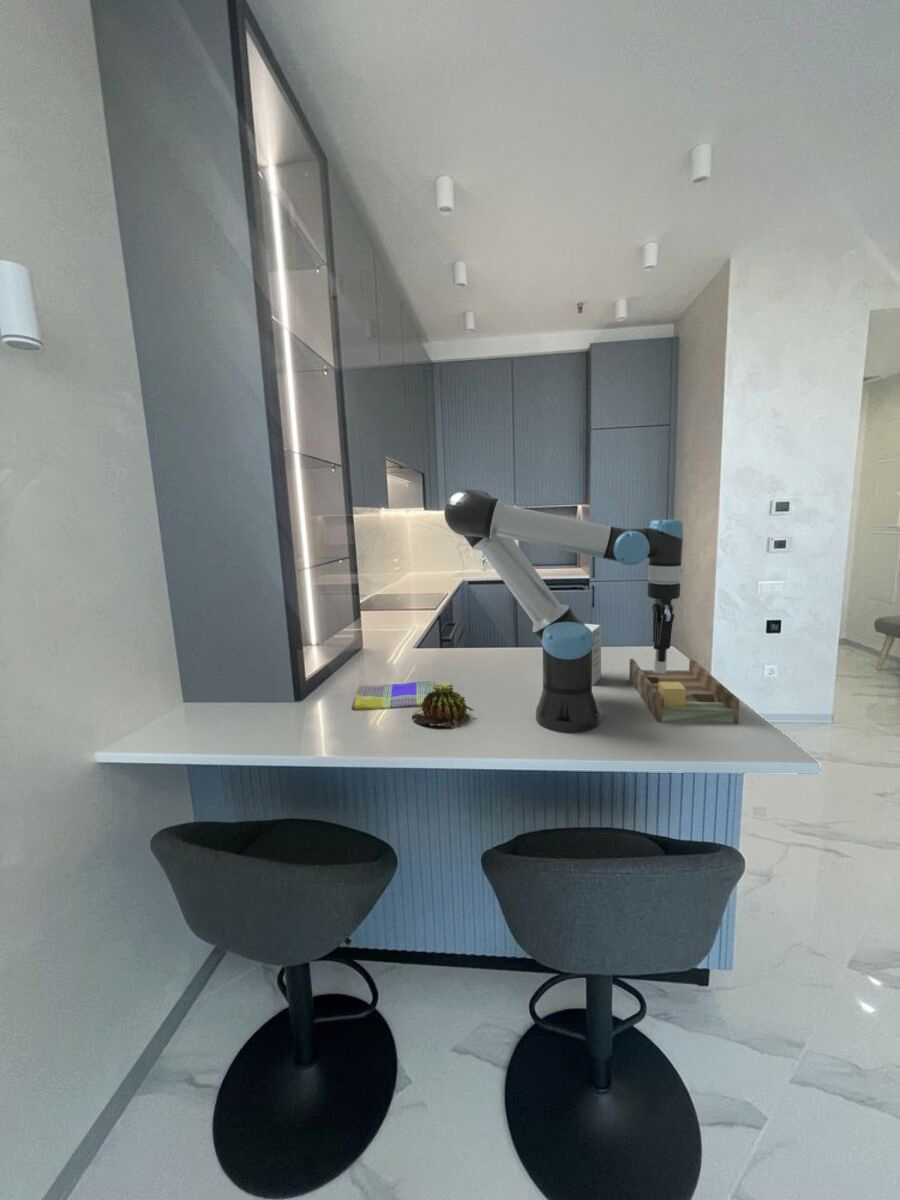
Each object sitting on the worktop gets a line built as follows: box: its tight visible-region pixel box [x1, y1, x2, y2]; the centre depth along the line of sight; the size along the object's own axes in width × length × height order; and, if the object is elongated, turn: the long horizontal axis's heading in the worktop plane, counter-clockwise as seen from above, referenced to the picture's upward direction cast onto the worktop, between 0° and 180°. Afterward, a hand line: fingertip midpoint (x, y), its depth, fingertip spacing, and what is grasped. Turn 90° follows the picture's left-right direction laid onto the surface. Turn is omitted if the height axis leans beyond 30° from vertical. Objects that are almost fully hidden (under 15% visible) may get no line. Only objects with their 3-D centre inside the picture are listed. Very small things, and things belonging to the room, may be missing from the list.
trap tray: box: [628, 658, 740, 725], centre depth 134 cm, size 33×18×6 cm, turn 172°
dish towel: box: [351, 680, 436, 712], centre depth 144 cm, size 18×24×3 cm
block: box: [658, 682, 686, 708], centre depth 124 cm, size 5×5×5 cm
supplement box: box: [584, 623, 602, 687], centre depth 152 cm, size 10×9×17 cm
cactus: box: [411, 682, 476, 729], centre depth 128 cm, size 17×16×10 cm
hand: (659, 672), depth 130 cm, fingers closed
